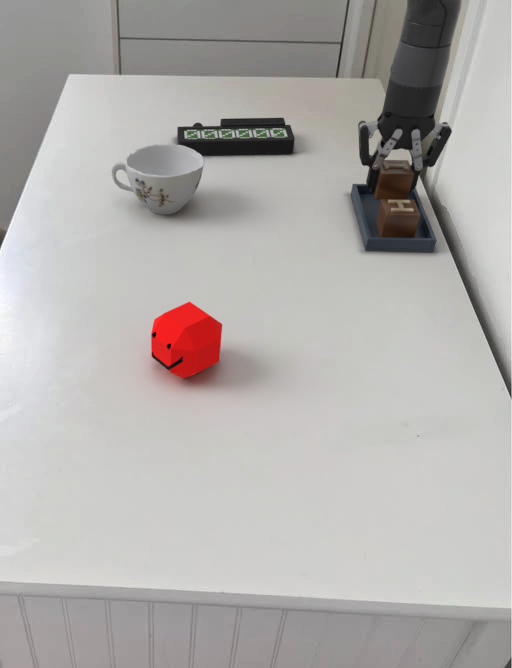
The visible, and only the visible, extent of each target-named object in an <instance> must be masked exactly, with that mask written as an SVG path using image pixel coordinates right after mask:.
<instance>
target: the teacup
mask: <svg viewBox="0 0 512 668" xmlns="http://www.w3.org/2000/svg"><path fill="white" fill-rule="evenodd" d="M204 167H205V158H204V157H203V156H202V155H201V154H200V153H197V152H196V151H195V150H193V149H191V148H188V147H186V146H182V145H178V144H175V143H163V144H151V145H146V146H142V147H141V148H137V149H135V150H134V152H131V153H129V154H128V155H127V156H126V158H125V163H124V162H123V161H118V162H115V163H113V165H112V167H111V177H112V181H113V182H114V184H115V185H116V186H117V187H118V188H119V189H120V190H124V191H128V192H130V193H134V195H135V197H136V198H137V199H138V200H139V201H140V203H142V204H143V205H144V206H145V207H146V208H147V209H148V210H149V211H150V212H152V213H154V214H157V215H164V216H167V215H172V214H176V213H177V212H179V211H180V210H182V209H183V207H184V206H185V205H186V204H187V203H188V202H189V201H190V200H191V199H192V197H194V194H195V193H196V192H197V189H198V187H199V184H200V182H201V178H202V174H203V170H204ZM120 170H121V171H123V172H124V173H125V174H126V176H127V180H128V183H129V185H130V186H129V185H126V184H124V183H123V182H121V181H119V179H118V177H117V172H118V171H120Z"/></svg>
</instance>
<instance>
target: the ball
mask: <svg viewBox="0 0 512 668" xmlns="http://www.w3.org/2000/svg"><path fill="white" fill-rule="evenodd" d="M222 332H223V323H222V322H220V321H218V320H217V319H215V318H214V317H213V316H212V315H210V314H208V313H207V312H206V311H204V310H203V309H201V308H200V307H199V306H197V305H196V304H194V303H192V302H191V301H187V302H185V303H183V304H181V305H179V306H177V307H174V308H172V309H170V310H167V311H166V312H164V313H162V314H160V315H159V316H158V317H156V318H154V319H153V324H152V328H151V332H150V349H151V355H150V356H151V358H152V359H153V360H155V361H156V362H157V363H159V364H160V365H161V366H162V367H164V368H165V369H166V370H168V372H169V373H171V374H173V375H175V376H177V377H179V378H181V379H184V380H185V379H187V378H188V377H191V376H194V375H196V374H197V373H200V372H202V371H203V370H206V369H208V368H211V366H214V365H215V364H218V363H220V356H221V349H222V348H221V346H222V334H223V333H222Z"/></svg>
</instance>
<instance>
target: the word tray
mask: <svg viewBox="0 0 512 668" xmlns="http://www.w3.org/2000/svg"><path fill="white" fill-rule="evenodd" d="M350 198H351V203H352V206H353V210H354V214H355V217H356V218H355V219H356V222H357V225H358V229H359V232H360V237H361V240H362V244H363V248H364V252H396V253H397V252H400V253H434V251H435V248H436V245H437V237H436V235H435V232H434V229H433V227H432V225H431V223H430V220H429V217H428V215H427V213H426V209H425V207H424V204H423V202H422V200H421V197H420V194H419V193H418V190H417V186H416V187H415V189H414V190H411V193H409V195H408V199H412V200H414V201H415V203H416V206H417V208H418V211H419V213H420V218H419V222H418V225H417V229H416V233H415V236H414V238H385V237H379V234H378V231H377V228H376V220H377V215H378V211H379V207H380V203H381V200H378V199H375V196H374V193H373V192H370V190H369V189H368V187H367V183H352V185H351V190H350Z"/></svg>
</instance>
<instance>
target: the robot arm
mask: <svg viewBox="0 0 512 668" xmlns="http://www.w3.org/2000/svg"><path fill="white" fill-rule="evenodd" d="M462 3H463V1H462V0H406V9H405V12H404V17H403V22H402V26H401V31H400V36H399V40H398V43H397V47H396V50H395V53H394V55H393V60H392V63H391V66H390V70H389V71H390V73H389V78H388V83H387V87H386V93H385V97H384V101H383V106H382V110H381V113H380V114H379V116H378V117H377V119H376V120H373V121H369V122H367V121H366V120H360V121H359V122H358V124H357V129H358V131H357V132H358V151H359V152H358V155H359V156H358V157H359V160H360V163H361V165H362V166H364V167H368V171H367V176H366V179H365V180H366V181H365V182H366V183H365V184H367V187H368V189H369V190H370V192H375V190H376V185H377V181H378V177H379V172H380V170H379V168H380V166H381V165H382V163H383V161H384V160H386V159H387V158H388V157H389V155H390V154H391V152H392V151H395V150H396V151H397V150H400V149H402V150H405V151H410V158H411V163H410V166H411V168H412V171H413V173H414V176H413V180H412V184H411V188H410V191H409V193H411V190H414V189H415V187H416V188H417V186H418V180H419V177H420V173H421V171H422V170H423V169H424V168H427V167H429V168H433V167H434V166H435V165H436V163H437V162H438V160H439V158H440V156H441V154H442V152H443V150H444V149H445V146H446V144H447V142H448V140H449V139H450V137H451V135H452V133H453V131H452V130H453V129H452V128H451V126H450V124H449V123H448V122H447V121H443V122H439V121H436V120H435V115H436V111H437V107H438V104H439V101H440V96H441V92H442V89H443V85H444V81H445V78H446V74H447V70H448V66H449V61H450V57H451V50H452V44H453V40H454V37H455V33H456V29H457V25H458V21H459V17H460V14H461V10H462V9H461V8H462ZM377 130H378V132H379V134H380V136H381V138H380V139H379V141H378V143H377V144H376V148H375V150H374V151H373V154H370V139H371V138H372V139H373V137H374V133H375V131H377ZM431 132H432V136H433V139H432V141H431V143H430V145H429V146H428V149H427V150H426V152H425V154H424V155H423V151H422V150H423V149H422V142H423V141H424V140H425V139H426V138H427V136H428V135H429V134H430V133H431Z"/></svg>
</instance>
